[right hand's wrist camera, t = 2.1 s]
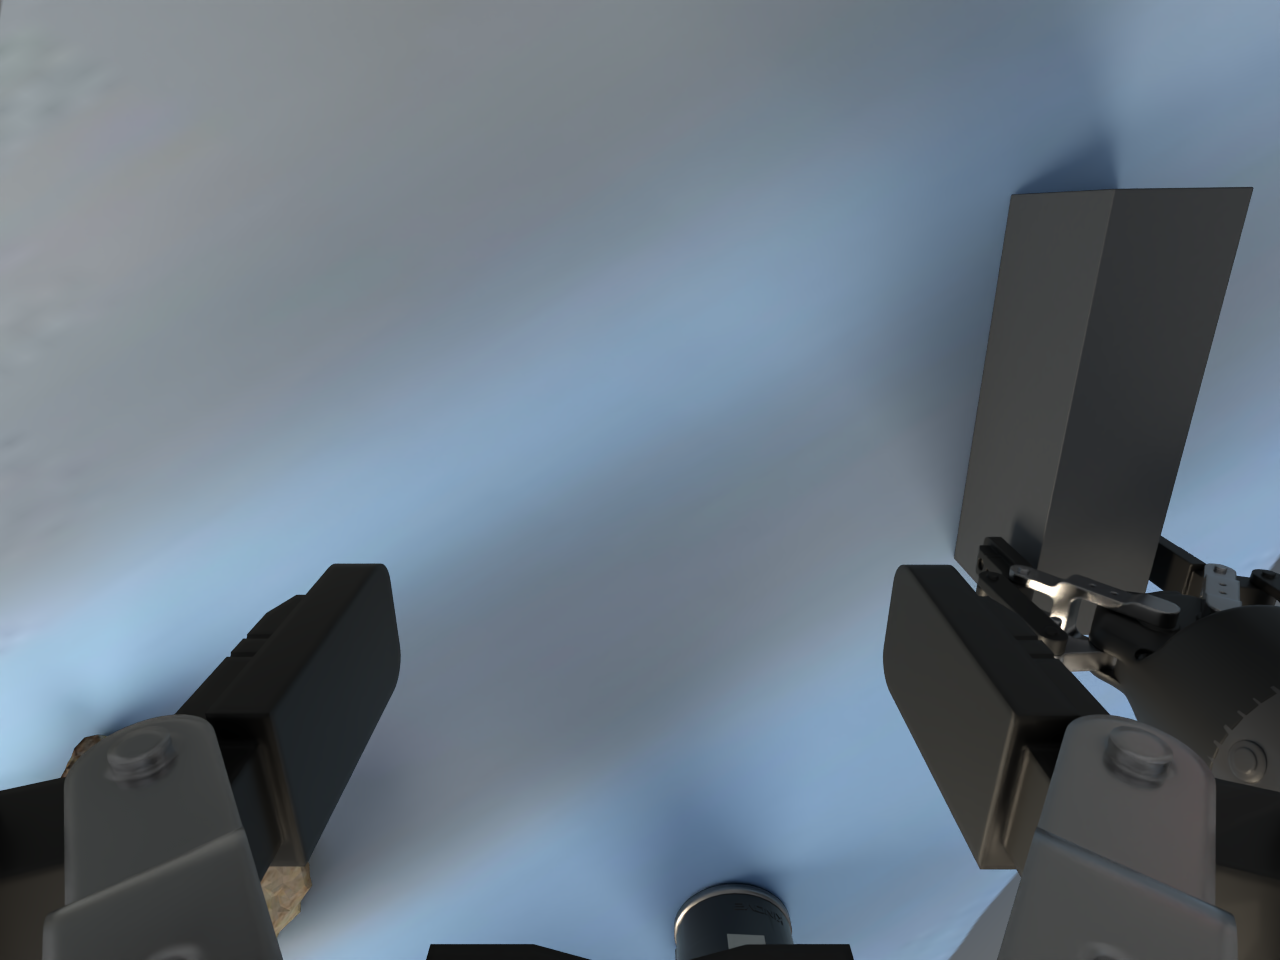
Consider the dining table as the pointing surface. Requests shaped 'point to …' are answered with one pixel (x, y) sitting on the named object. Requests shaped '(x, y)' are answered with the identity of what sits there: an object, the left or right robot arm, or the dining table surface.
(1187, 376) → the box
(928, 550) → the dining table surface
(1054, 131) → the dining table surface
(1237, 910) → the right robot arm
